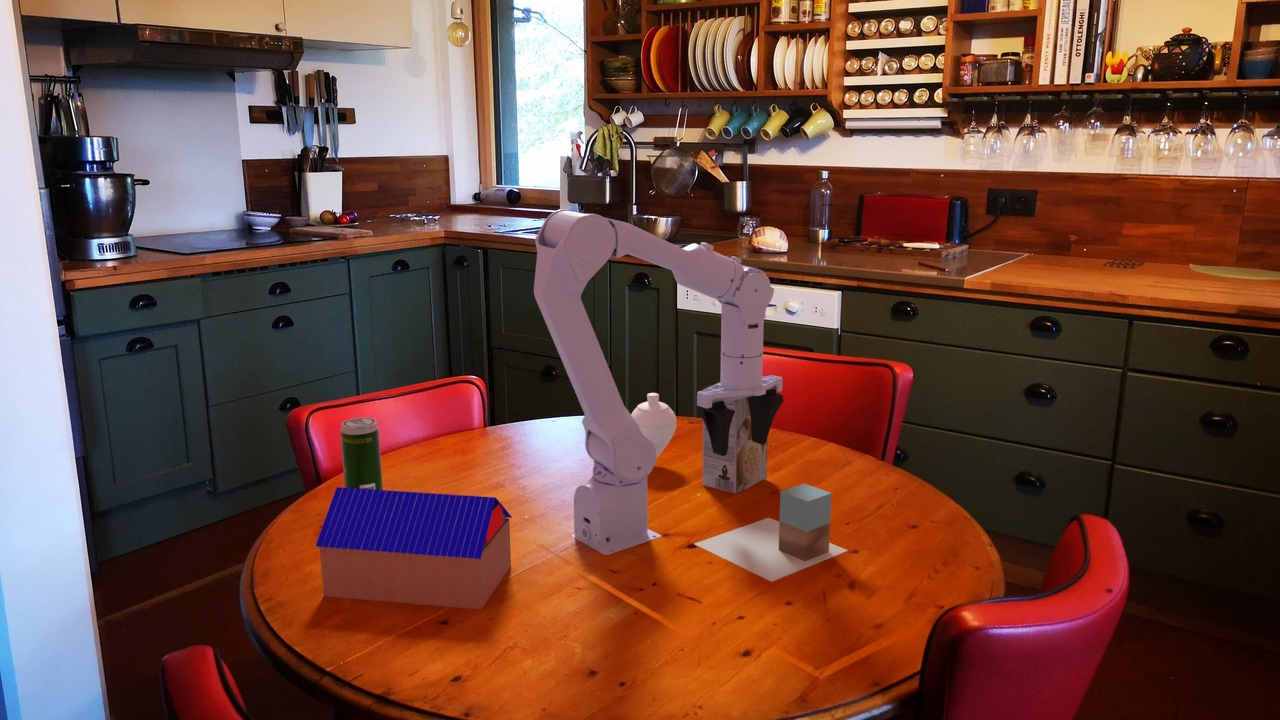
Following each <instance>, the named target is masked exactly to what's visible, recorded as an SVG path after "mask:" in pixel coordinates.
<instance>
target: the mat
mask: <svg viewBox="0 0 1280 720" xmlns="http://www.w3.org/2000/svg"><path fill="white" fill-rule="evenodd" d="M779 522H780V521H779V520H776V519H773V518H771V517H767V518H764V519H761V520H759V521H755V522H752V523H750V524H746V525H744V526H741V527H738V528H735V529H733V530H729V531H727V532H723V533H721V534H718V535H715V536H712V537H710V538H707V539H703V540H701V541H700V540H699V541H698V542H694V543H693V545H695V546H697V547H698V548H700V549H702V550H705V551H707V552H709V553H710V554H711V553H712V554H713V555H715V556H717V557H719V558H721V559H723V560H725V561H727V562H730V563H732V564H734V565H736V566H738V567H740V568H741V569H744V570H746V571H748V572H749V573H752V574H754V575H757V576H759V577H760V578H763V579H765V580H766V581H769V582H771V583H774V582H775V581H778V580H779V579H783V578H785V577H788V576H790V575H792V574H795V573H797V572H799V571H802V570H804V569H806V568H809V567H811V566H812V567H813V566H815V565H817V564H819V563H822V562H824V561H826V560H829V559H831V558H834V557H837V556H840V555H841V554H844V553H846V552H848V551H849V550H848V549H847V548H846V549H845V548H844V547H840V546H838V545H836V544H833V543H832V542H829V552H827V553H825V554H822V555H820V556H817V557H815V558H813V559H810V560H808V561H803V560H800V559H798V558H796V557H794V556H791V555H789V554H787V553H785V552H783V551H780V550H779Z"/></svg>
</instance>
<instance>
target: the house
mask: <svg viewBox="0 0 1280 720" xmlns="http://www.w3.org/2000/svg"><path fill="white" fill-rule="evenodd" d="M512 518H513V516H512V515H511V514H510V513H509V512H508V511H507V509H506V508H505V507H504V506H503V504H502V503H501V502H500V501H499V500H498V498H497V497H493V496H483V495H480V496H479V495H478V496H477V495H465V494H464V495H463V494H449V493H447V494H446V493H431V492H419V491H418V492H417V491H401V490H400V491H399V490H387V489H386V490H385V489H383V490H373V489H357V488H345V487H342V486H341V487H340V486H339V487H338V486H337V487H336V488H335V491H334V494H333V497H332V499H331V501H330V505H329V508H328V510H327V513H326V515H325V518H324V521H323V524H322V527H321V531H320V533H319V535H318V538H317V541H316V544H315V547H319V553H320V554H319V556H320V565H321V566H320V567H321V580H322V591H323V597H329V598H339V599H353V600H363V601H364V600H366V601H376V602H385V603H386V602H387V603H400V604H412V605H424V606H435V607H445V608H458V609H459V608H460V609H469V610H482V609H483V607H484V606H485V605H486V603H487V602H488V600H489V599H490V598H491V596H492V594H494V592H495V591H496V589H497V588H498V586H499V584H500V583H501V582H502V581H503V579H504V578H505V576H506V575H507V573H508V571H509V570H510V569H511V568H512V560H511V559H512V558H511V557H512V556H511V553H512V552H511V533H510V532H511V531H510V530H511V528H510V519H512Z"/></svg>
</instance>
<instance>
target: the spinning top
mask: <svg viewBox="0 0 1280 720" xmlns="http://www.w3.org/2000/svg"><path fill="white" fill-rule="evenodd" d="M646 397H647V398H646V399H647V401H645V402H641V403H639V404H638V405H637V406H636V407H635V408H634V410H633V411H632V413H630V414H631V416H632V417H633V418H634V420H635V421H636V422H637V424H638V426H639V429H640V431H641V432H642V434H643V435H644V436H645V437H647V438H648V439H649V440H650V441H651V442H652V443H653V445H654V447H655V449H656V459H657V458H658V457H659V456H660V455H661V454H662V452H664V450H665V449H666V447H667V445H668V444H669V443H670V441H671V439H672V438H673V436H674V434H675V431H676V429H677V424H678V423H677V417H676V414H675V412H674V410H672V408H671V407H670V406H669V405H668V404H666V403H665V402H662V401H659V400H660V399H659V398H660V394H658V393H656V392H650V393H647V394H646Z"/></svg>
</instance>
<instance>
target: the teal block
mask: <svg viewBox="0 0 1280 720" xmlns="http://www.w3.org/2000/svg"><path fill="white" fill-rule="evenodd" d="M779 495H780V499H779V500H780V501H779V522H780V521H781V522H783V523H786V524H788V525H791V526H793V527H795V528H798V529H800V530H803V531H805V532H808V531H810V530H813V529H816V528H818V527H821V526H823V525H826V524H829V523H830V524H831V513H832V510H831V509H832V492H829V491H828V490H827V491H826V490H824V489H821V488H818V487H816V486H814V485H813V486H812V485H809V484H806V483H801V484H800V485H799V484H798V485H795V486H793V487H789V488H787V489H784V490H782V491H780V494H779Z"/></svg>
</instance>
